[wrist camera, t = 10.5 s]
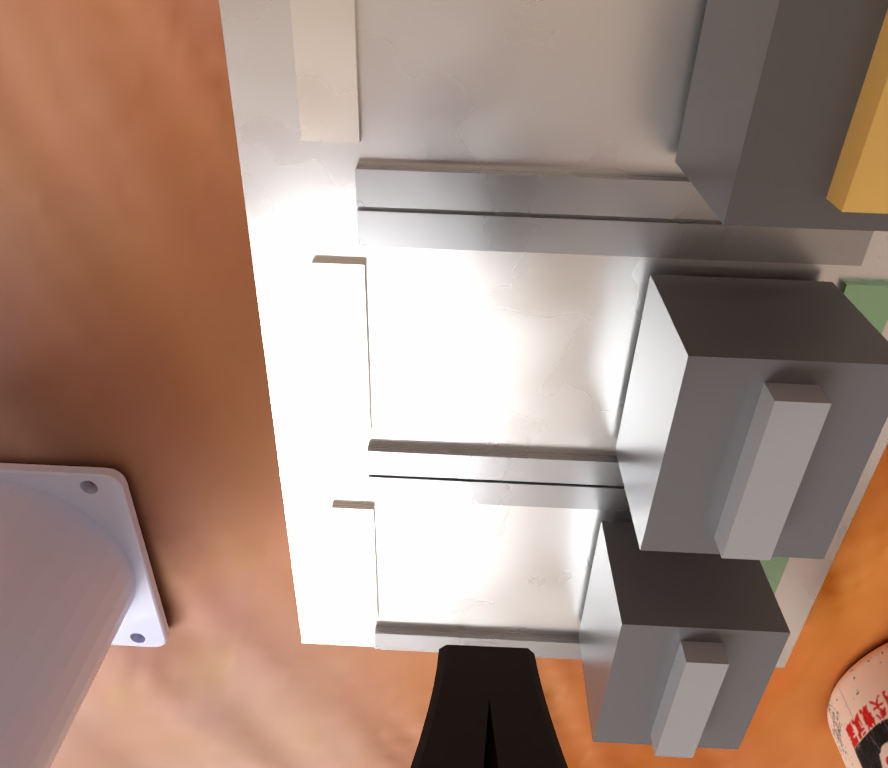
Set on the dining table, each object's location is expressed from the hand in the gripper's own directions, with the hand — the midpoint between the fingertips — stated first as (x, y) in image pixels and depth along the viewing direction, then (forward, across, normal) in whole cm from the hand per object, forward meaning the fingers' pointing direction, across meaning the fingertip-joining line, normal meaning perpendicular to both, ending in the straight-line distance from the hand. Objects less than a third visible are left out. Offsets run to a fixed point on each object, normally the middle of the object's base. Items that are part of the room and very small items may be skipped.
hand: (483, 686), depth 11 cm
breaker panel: (+10, -3, -1) cm, 10 cm away
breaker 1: (+8, -6, -1) cm, 10 cm away
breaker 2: (+8, -6, +7) cm, 12 cm away
